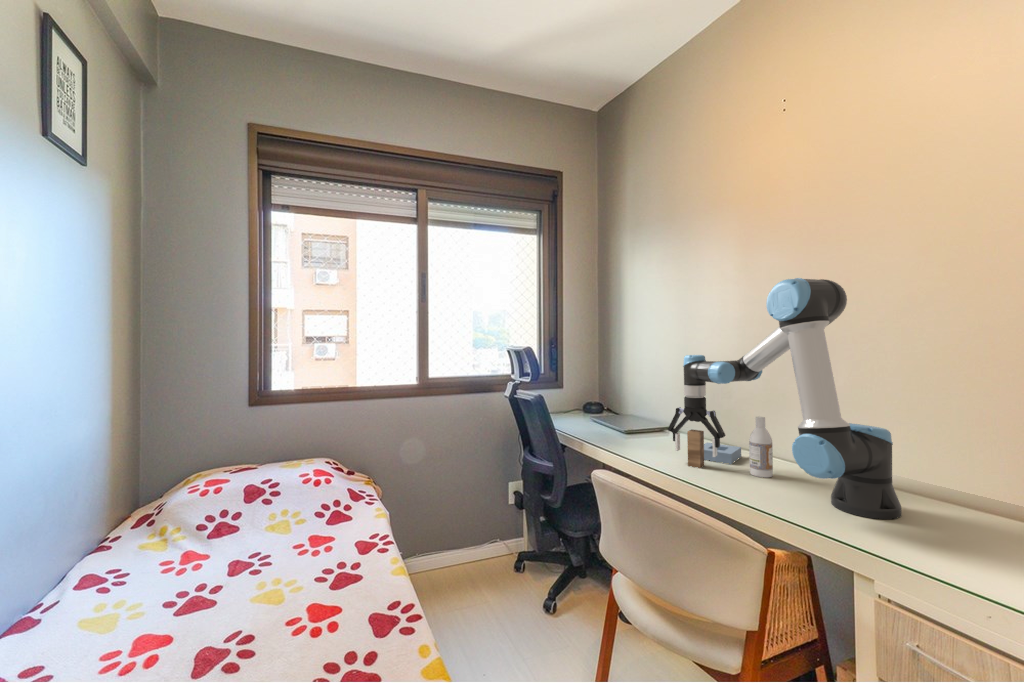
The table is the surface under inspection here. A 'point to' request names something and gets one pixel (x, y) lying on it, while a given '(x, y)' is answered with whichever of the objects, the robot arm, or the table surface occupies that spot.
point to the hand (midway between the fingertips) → (695, 453)
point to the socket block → (722, 453)
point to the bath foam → (761, 450)
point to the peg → (695, 448)
